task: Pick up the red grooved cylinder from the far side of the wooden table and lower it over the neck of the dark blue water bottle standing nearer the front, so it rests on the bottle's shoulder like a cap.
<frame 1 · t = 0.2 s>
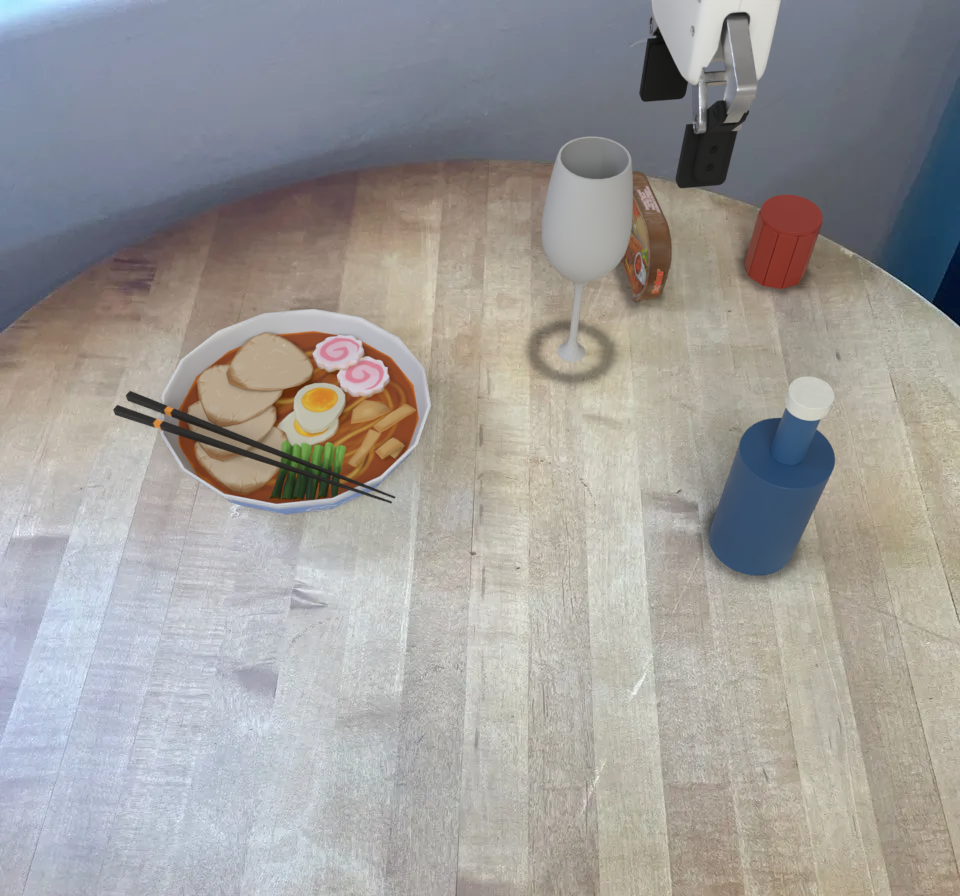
hand: (679, 139, 67), 29 cm above the table, tool pointing down, fingers open, 9 cm apart
wineglass: (570, 360, 97), on the table
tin: (630, 271, 104), on the table
ramen bowl: (308, 460, 90), on the table
water bottle: (748, 547, 85), on the table
red grooved cylinder: (772, 276, 104), on the table
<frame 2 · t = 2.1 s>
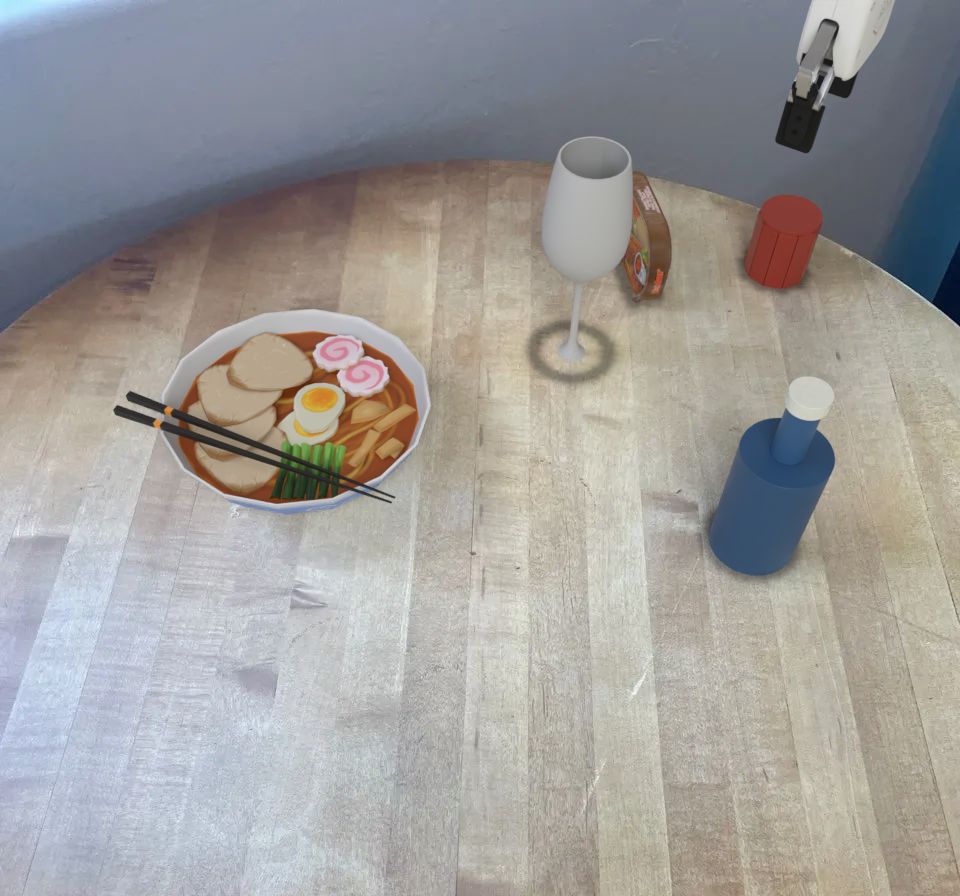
hand: (812, 119, 88), 18 cm above the table, tool pointing down, fingers open, 9 cm apart
nothing on the table moved.
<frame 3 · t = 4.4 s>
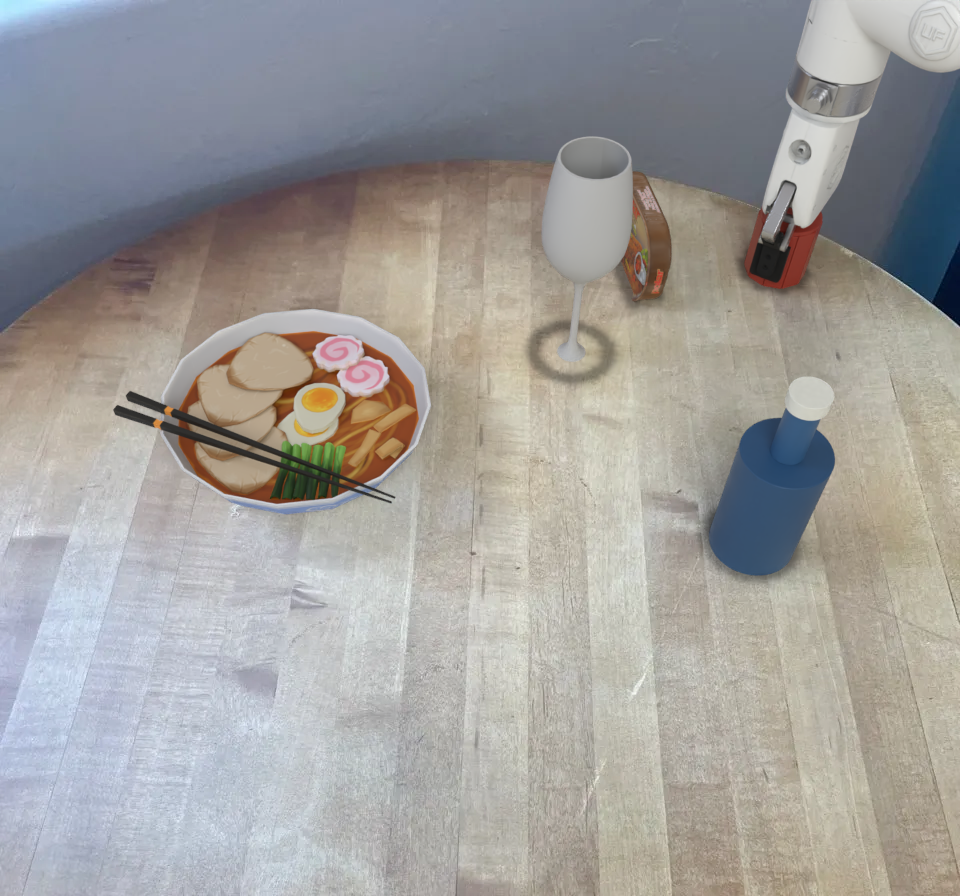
hand: (778, 256, 102), 2 cm above the table, tool pointing down, fingers closed on red grooved cylinder, 6 cm apart
red grooved cylinder: (771, 276, 104), on the table, touching gripper
everything else where it was.
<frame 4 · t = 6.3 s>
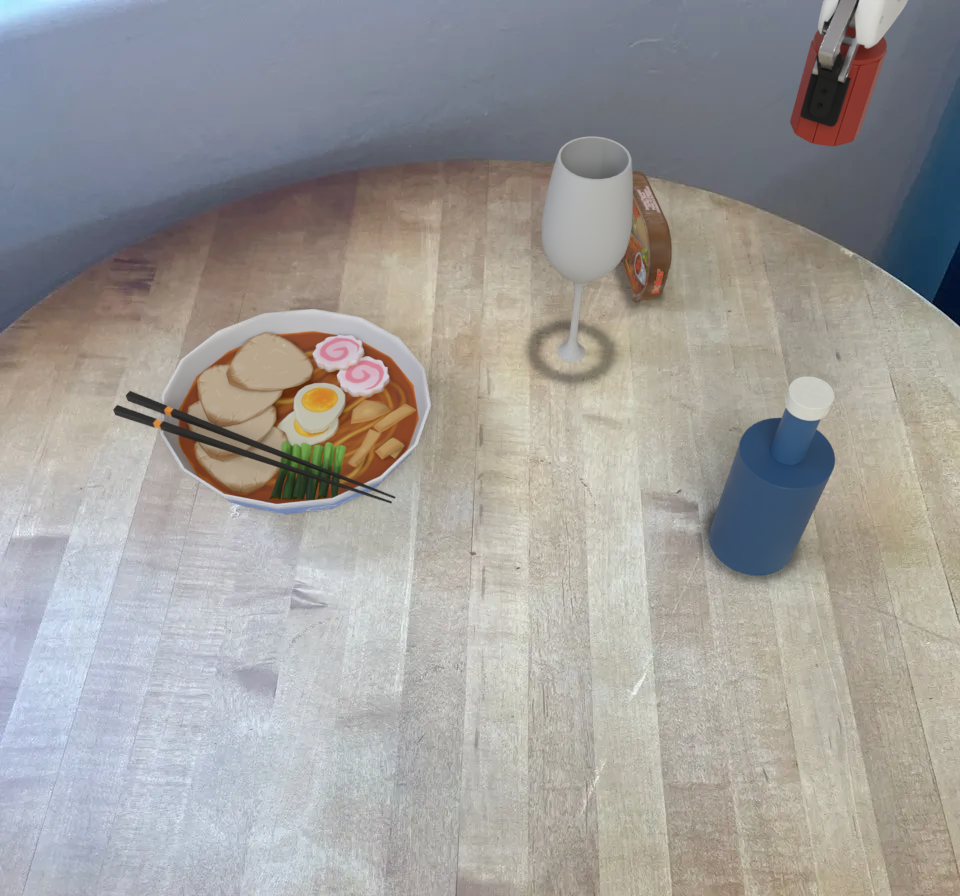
hand: (833, 99, 88), 19 cm above the table, tool pointing down, fingers closed on red grooved cylinder, 6 cm apart
red grooved cylinder: (824, 126, 90), point 16 cm above the table, touching gripper
everything else where it was.
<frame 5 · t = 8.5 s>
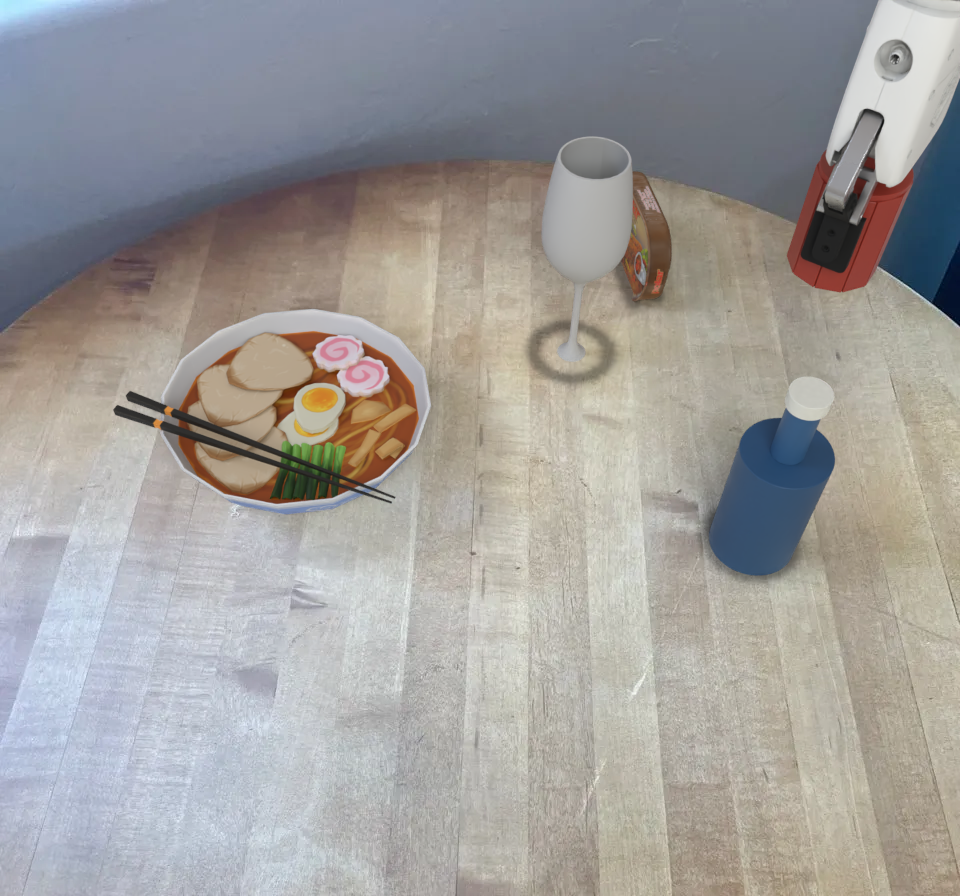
hand: (842, 234, 69), 25 cm above the table, tool pointing down, fingers closed on red grooved cylinder, 6 cm apart
red grooved cylinder: (830, 263, 71), point 22 cm above the table, touching gripper
everything else where it was.
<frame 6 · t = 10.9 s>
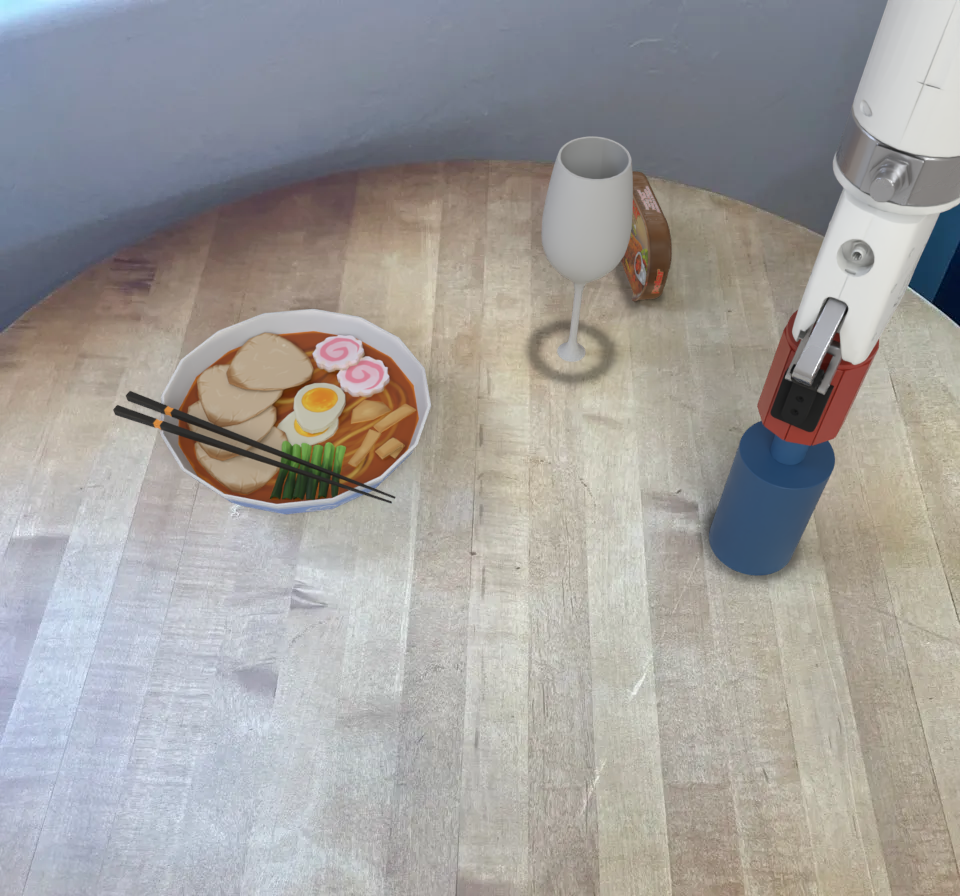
hand: (811, 389, 70), 19 cm above the table, tool pointing down, fingers closed on red grooved cylinder, 6 cm apart
red grooved cylinder: (800, 413, 72), point 16 cm above the table, touching gripper
everything else where it was.
when the fingers open (14 cm above the table, at t = 12.8 s): red grooved cylinder stays where it is, resting on water bottle.
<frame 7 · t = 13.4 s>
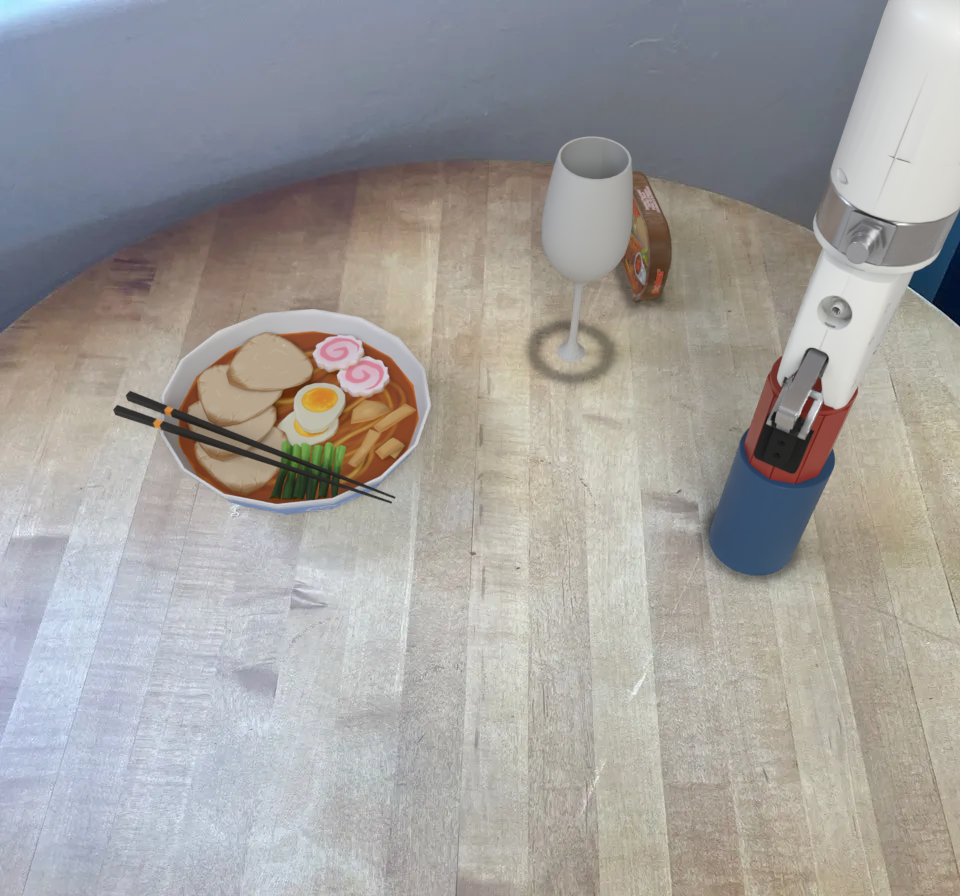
hand: (800, 420, 72), 15 cm above the table, tool pointing down, fingers open, 9 cm apart
red grooved cylinder: (785, 452, 75), point 12 cm above the table, touching water bottle
everything else where it was.
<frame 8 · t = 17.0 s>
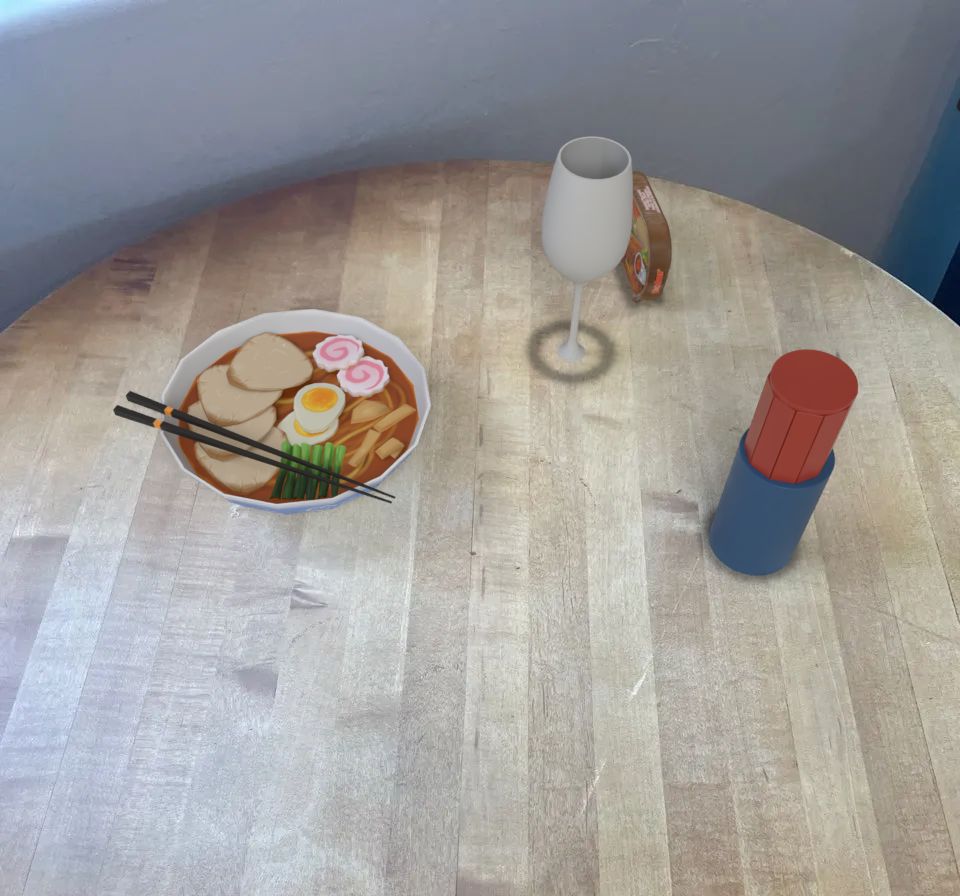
nothing on the table moved.
at the end: red grooved cylinder 0.1 cm off-centre on the water bottle, point 12.0 cm above the water bottle's base; red grooved cylinder tilted 0°; the gripper is holding nothing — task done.
